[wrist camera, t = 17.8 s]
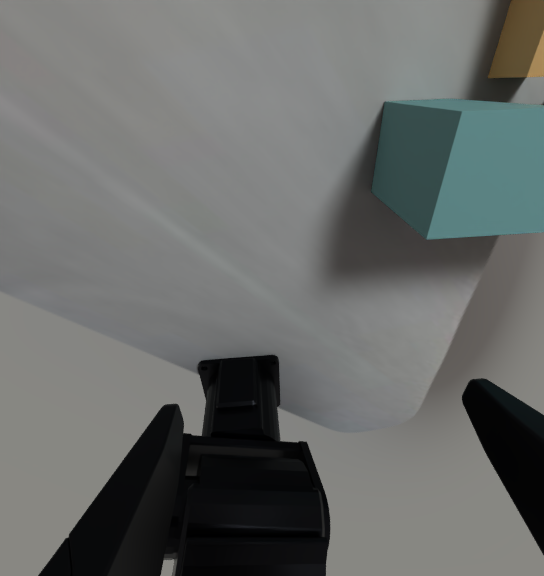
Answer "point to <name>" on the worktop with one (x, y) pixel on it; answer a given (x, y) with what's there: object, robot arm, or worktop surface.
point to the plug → (521, 42)
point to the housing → (462, 166)
